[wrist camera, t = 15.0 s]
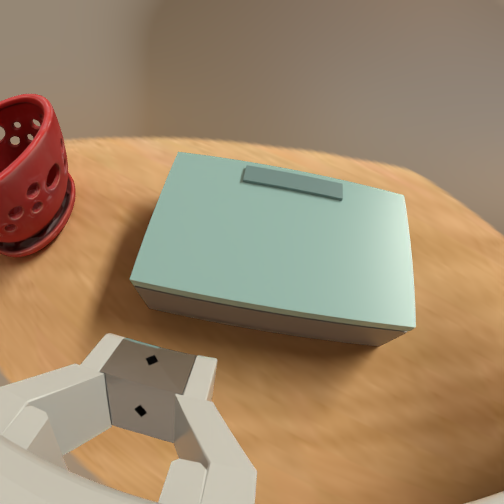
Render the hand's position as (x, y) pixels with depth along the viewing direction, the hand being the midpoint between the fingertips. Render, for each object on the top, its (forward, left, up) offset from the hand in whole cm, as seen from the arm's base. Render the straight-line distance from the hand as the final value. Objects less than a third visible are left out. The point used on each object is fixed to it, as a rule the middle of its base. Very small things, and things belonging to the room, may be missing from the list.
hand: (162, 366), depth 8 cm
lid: (-4, -12, -12) cm, 18 cm away
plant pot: (+22, -13, -18) cm, 31 cm away
